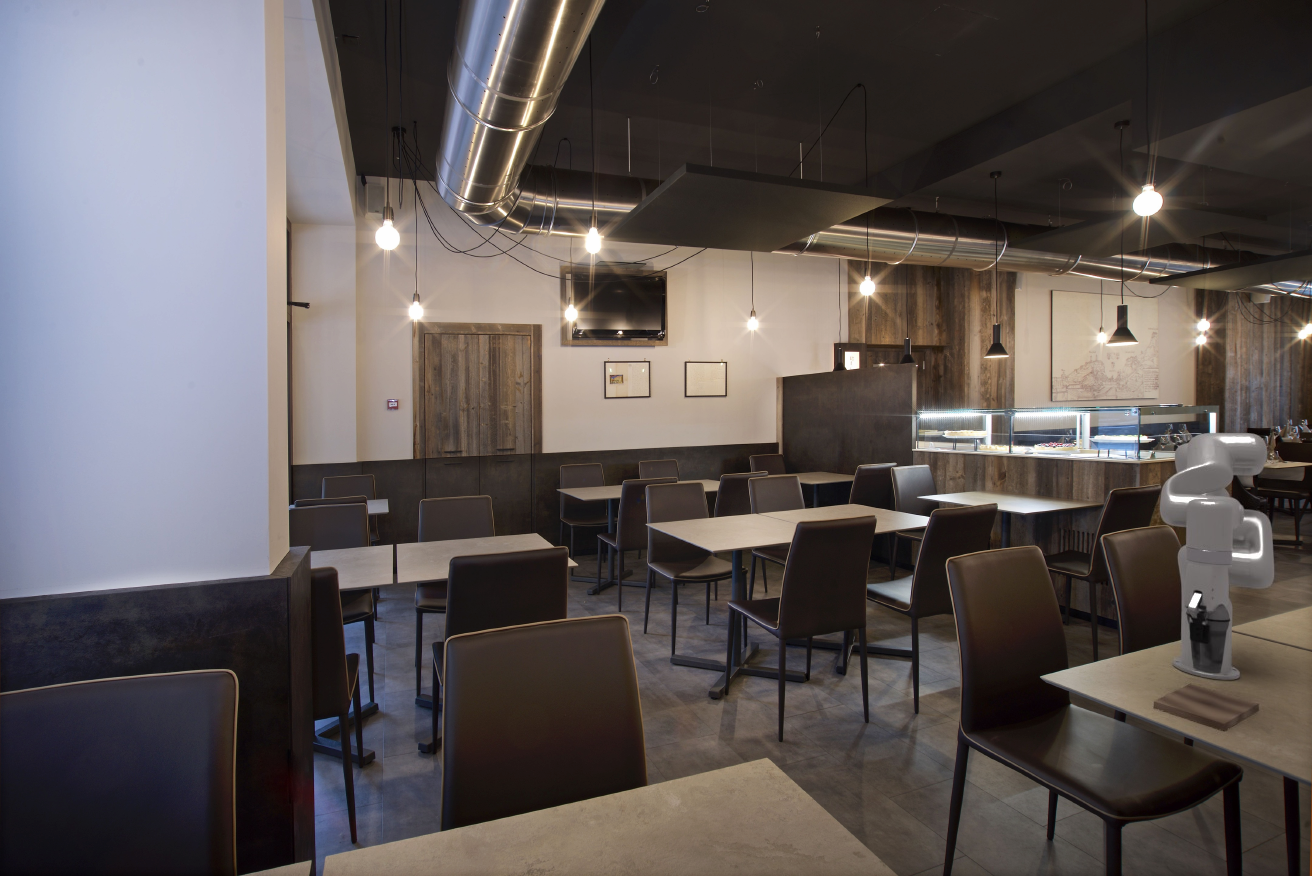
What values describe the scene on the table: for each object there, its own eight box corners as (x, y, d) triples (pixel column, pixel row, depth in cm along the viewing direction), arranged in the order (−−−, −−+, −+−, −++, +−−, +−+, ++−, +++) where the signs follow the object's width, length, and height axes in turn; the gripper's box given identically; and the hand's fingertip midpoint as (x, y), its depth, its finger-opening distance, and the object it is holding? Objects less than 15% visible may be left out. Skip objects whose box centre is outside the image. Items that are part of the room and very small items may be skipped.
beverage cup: (1238, 677, 132) (1240, 582, 132) (1198, 674, 134) (1199, 580, 133) (1215, 664, 139) (1216, 574, 139) (1177, 662, 141) (1178, 572, 140)
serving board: (1190, 689, 147) (1190, 683, 147) (1258, 710, 136) (1258, 703, 136) (1153, 708, 138) (1153, 701, 137) (1224, 731, 127) (1224, 723, 127)
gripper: (1204, 549, 144) (1202, 627, 144) (1169, 558, 135) (1167, 641, 135) (1247, 555, 137) (1246, 637, 137) (1213, 564, 128) (1212, 651, 129)
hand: (1207, 638), depth 136 cm, fingers closed on beverage cup, 6 cm apart
